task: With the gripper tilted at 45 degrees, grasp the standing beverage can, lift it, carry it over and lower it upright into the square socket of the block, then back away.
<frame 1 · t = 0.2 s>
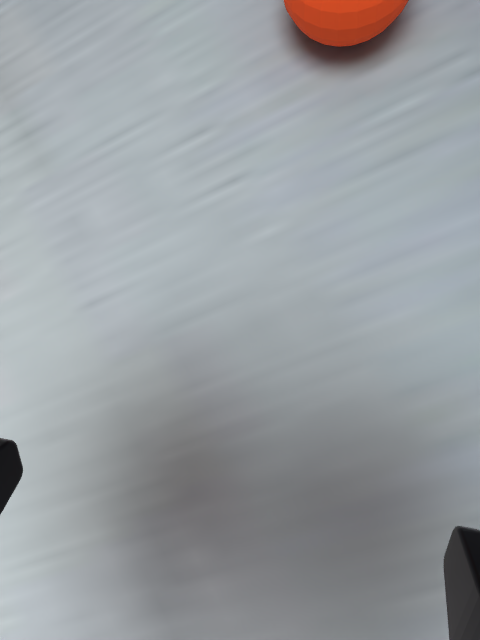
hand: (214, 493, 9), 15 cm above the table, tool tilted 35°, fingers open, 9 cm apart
clementine: (353, 24, 26), on the table
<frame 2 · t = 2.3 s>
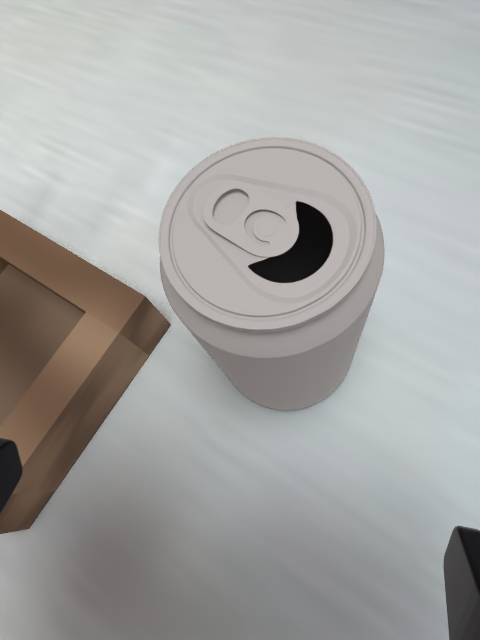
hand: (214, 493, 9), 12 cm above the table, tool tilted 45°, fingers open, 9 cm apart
socket block: (22, 361, 25), on the table
beverage can: (286, 349, 23), on the table
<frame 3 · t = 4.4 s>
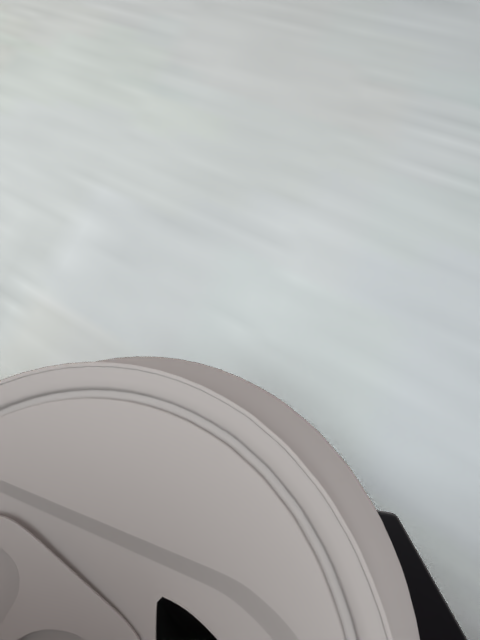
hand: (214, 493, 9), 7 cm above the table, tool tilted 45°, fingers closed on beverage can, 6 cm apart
beverage can: (246, 529, 15), on the table, touching gripper
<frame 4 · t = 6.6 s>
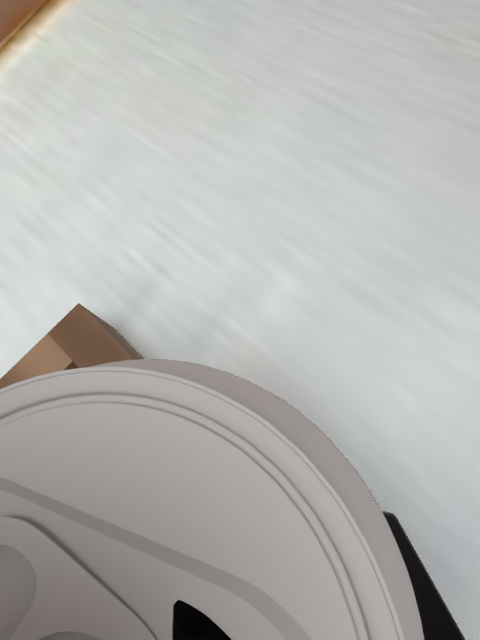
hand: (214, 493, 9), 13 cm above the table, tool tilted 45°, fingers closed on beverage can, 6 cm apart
socket block: (101, 489, 22), on the table
beverage can: (240, 525, 15), point 6 cm above the table, touching gripper
when the fingers open (9 cm above the table, at t = 8.8 s): beverage can drops 1 cm, resting on socket block.
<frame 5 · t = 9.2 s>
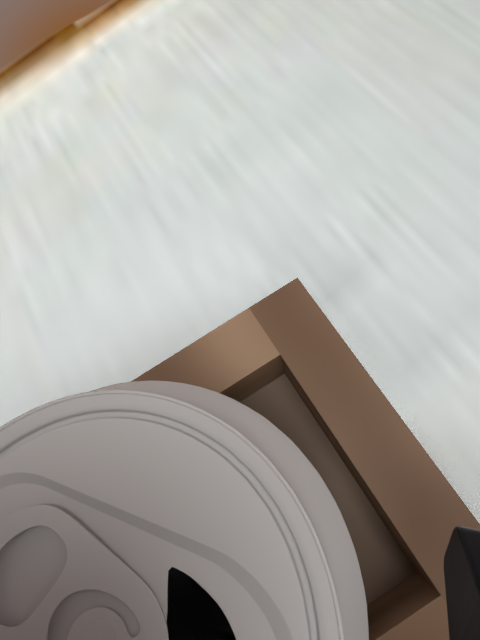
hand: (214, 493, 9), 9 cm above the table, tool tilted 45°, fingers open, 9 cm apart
socket block: (255, 522, 17), on the table
beverage can: (242, 525, 16), point 1 cm above the table, touching socket block
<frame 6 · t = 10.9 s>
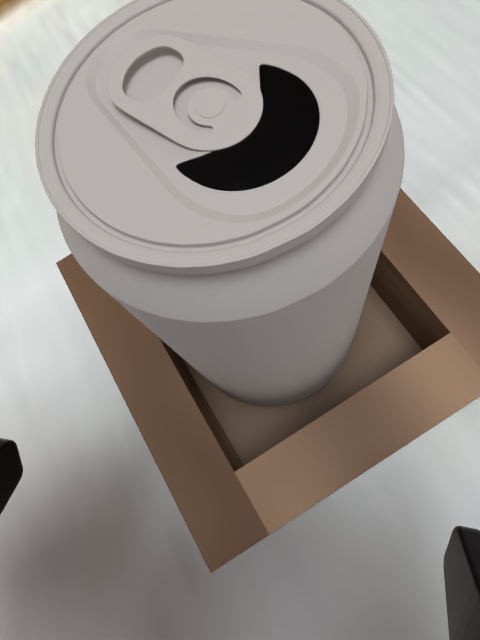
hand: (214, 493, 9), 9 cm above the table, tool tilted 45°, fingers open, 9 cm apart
socket block: (281, 334, 19), on the table
beverage can: (270, 330, 18), point 1 cm above the table, touching socket block
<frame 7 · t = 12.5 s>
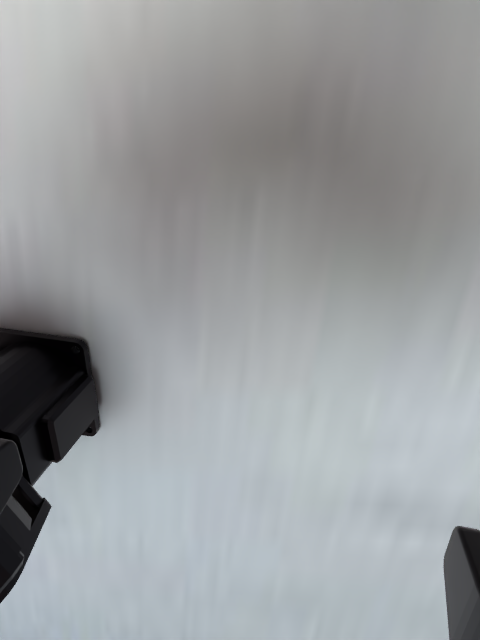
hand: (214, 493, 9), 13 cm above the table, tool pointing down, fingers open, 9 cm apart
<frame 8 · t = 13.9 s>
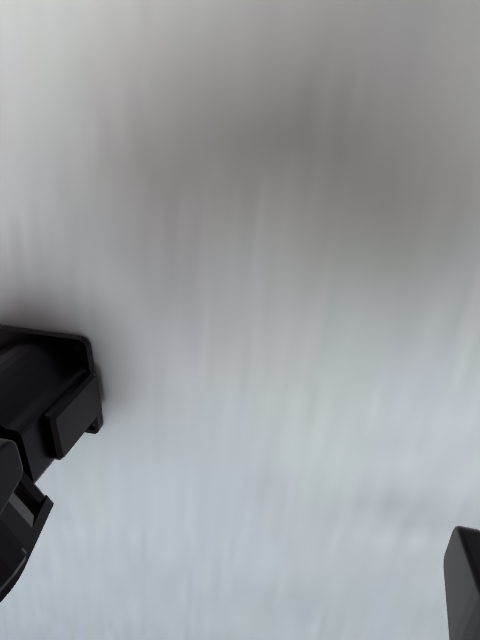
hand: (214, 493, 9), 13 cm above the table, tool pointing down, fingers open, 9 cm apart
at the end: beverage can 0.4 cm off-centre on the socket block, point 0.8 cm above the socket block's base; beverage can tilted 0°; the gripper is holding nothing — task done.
